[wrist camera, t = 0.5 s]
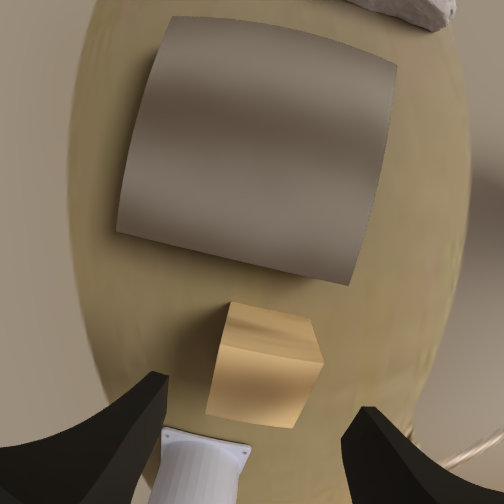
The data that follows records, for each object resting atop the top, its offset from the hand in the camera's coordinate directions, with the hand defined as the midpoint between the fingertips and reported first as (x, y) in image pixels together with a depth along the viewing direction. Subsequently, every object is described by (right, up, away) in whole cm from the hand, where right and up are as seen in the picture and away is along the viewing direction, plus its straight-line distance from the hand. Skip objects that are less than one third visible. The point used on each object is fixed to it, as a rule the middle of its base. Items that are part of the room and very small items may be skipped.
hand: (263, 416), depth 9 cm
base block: (0, +12, +6) cm, 13 cm away
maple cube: (0, 0, +9) cm, 9 cm away
